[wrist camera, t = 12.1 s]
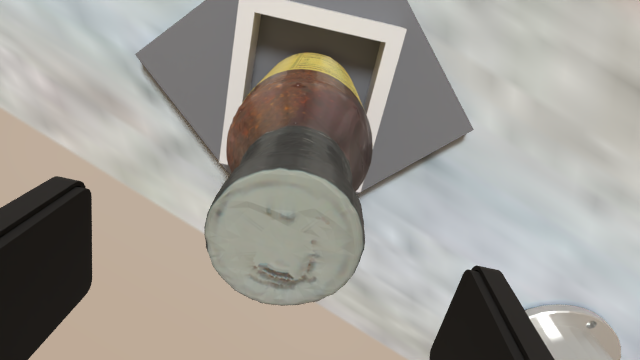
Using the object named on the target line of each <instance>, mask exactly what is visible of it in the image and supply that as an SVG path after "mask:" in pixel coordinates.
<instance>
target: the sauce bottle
mask: <svg viewBox="0 0 640 360" xmlns="http://www.w3.org/2000/svg"><path fill="white" fill-rule="evenodd" d="M372 152H373V143H372V132H371V128H370V123H369V120H368V118H367V115H366V112H365V110H364V108H363V106H362V104H361V101H360V99H359V96H358V93H357V91H356V89H355V87H354V84H353V82H352V80H351V78H350V76H349V75H348V73H347V72H346V70H345V69H344V68H343V67H342V66H341V65H340V64H339V63H338V62H336V61H335V60H333V59H332V58H331V57H329V56H325V55H322V54H318V53H309V52H304V53H299V54H295V55H292V56H290V57H287V58H285V59H284V60H282V61H281V62H279V63H278V64H277V65H276V66H275V67H274V68H273V69H272V70H271V71H270V72H269V73H268V74H267V75H266V76H265V77H264V78H263V79H262V80H261V81H260V82H259V83H258V84H257V85H256V87H255V88H254V89H253V90H252V91H251V92H250V93H249V94H248V95H247V97H246V98H245V100H244V101H243V103H242V105H241V106H240V107H239V108H238V110H237V112H236V115H235V116H234V117H233V120H232V123H231V125H230V128H229V131H228V135H227V146H226V155H227V162H228V165H229V166H230V169H231V175H230V177H229V178H228V180H227V181H226V182H225V183H224V184H223V186H222V187H221V189H220V191H219V192H218V194H217V195H216V197H215V199H214V201H213V203H212V205H211V207H210V209H209V211H208V214H207V218H206V223H205V239H206V248H207V251H208V253H209V256H210V258H211V262H212V265H213V267H214V268H215V269H216V271H217V272H218V274H219V275H220V276H221V277H222V278H223V279H224V280H225V281H226V282H227V283H228V284H229V285H230V286H231V287H232V288H233V289H234V290H236V291H237V292H239V293H241V294H243V295H244V296H247V297H248V298H251V299H252V300H256V301H258V302H260V303H265V304H273V305H299V304H304V303H309V302H315V301H319V300H321V299H323V298H325V297H326V296H329V295H332V294H334V293H335V292H336V291H338V290H339V289H340V288H341V287H343V286H344V285H345V284H346V283H347V281H348V280H349V279H350V278H351V276H352V275H353V274H354V272H355V270H356V268H357V266H358V264H359V262H360V258H361V255H362V252H363V250H364V245H365V234H364V220H363V214H362V208H361V203H360V201H359V199H358V196H357V194H356V191H357V190H358V189H359V187H360V186H361V184H362V183H363V181H364V179H365V177H366V175H367V173H368V170H369V167H370V164H371V159H372Z"/></svg>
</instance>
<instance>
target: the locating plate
mask: <svg viewBox="0 0 640 360" xmlns="http://www.w3.org/2000/svg"><path fill="white" fill-rule="evenodd" d="M304 52H309V53H318V54H322V55H325V56H329V57H331V58H332V59H333V60H335V61H336V62H338V63H339V64H340V65H341V66H342V67H343V68H344V69H345V70H346V72H347V73H348V75H349V76H350V78H351V80H352V82H353V84H354V87H355V89H356V91H357V93H358V96H359V99H360V101H361V104H362V106H363V108H364V110H365V112H366V115H367V118H368V120H369V123H370V128H371V132H372V143H373V152H372V159H371V164H370V167H369V170H368V173H367V175H366V177H365V179H364V181H363V183H362V184H361V186H360V187H359V189H358V190H357V191H356V194H358V193H360V192H362V191H364V190H365V189H367V188H369V187H371V186H373V185H375V184H376V183H378V182H380V181H382V180H384V179H385V178H387V177H389V176H391V175H393V174H394V173H396V172H398V171H400V170H402V169H403V168H405V167H407V166H409V165H411V164H413V163H414V162H416V161H418V160H420V159H422V158H423V157H425V156H427V155H429V154H431V153H432V152H434V151H436V150H438V149H440V148H441V147H443V146H445V145H447V144H449V143H450V142H452V141H454V140H456V139H458V138H460V137H461V136H463V135H465V134H467V133H469V132H470V131H472V130H473V128H472V126H471V124H470V122H469V120H468V118H467V116H466V114H465V112H464V110H463V108H462V106H461V104H460V102H459V100H458V98H457V97H456V95H455V93H454V91H453V89H452V87H451V85H450V83H449V81H448V79H447V77H446V75H445V73H444V71H443V69H442V67H441V65H440V64H439V62H438V60H437V58H436V56H435V54H434V52H433V50H432V48H431V46H430V44H429V42H428V40H427V38H426V36H425V34H424V32H423V31H422V29H421V27H420V25H419V23H418V21H417V19H416V17H415V15H414V13H413V11H412V9H411V7H410V5H409V3H408V1H407V0H205V1H204V2H203V3H201V4H200V5H199V6H197V7H196V8H195V9H194V10H192V11H191V12H190V13H188V14H187V15H186V16H184V17H183V18H182V19H180V20H179V21H178V22H177V23H175V24H174V25H173V26H171V27H170V28H169V29H167V30H166V31H165V32H164V33H162V34H161V35H160V36H158V37H157V38H156V39H154V40H153V41H152V42H151V43H149V44H148V45H147V46H145V47H144V48H143V49H141V50H140V51H139V52H138V53H136V54H135V55H136V56H137V58H138V59H139V60H140V61H141V63H142V64H143V65H144V66H145V68H146V69H147V70H148V72H149V73H150V74H151V75H152V77H153V78H154V79H155V80H156V82H157V83H158V84H159V85H160V87H161V88H162V89H163V91H164V92H165V93H166V94H167V96H168V97H169V98H170V99H171V101H172V102H173V103H174V105H175V106H176V107H177V108H178V110H179V111H180V112H181V113H182V115H183V116H184V117H185V119H186V120H187V121H188V122H189V124H190V125H191V126H192V127H193V129H194V130H195V131H196V133H197V134H198V135H199V136H200V138H201V139H202V140H203V141H204V143H205V144H206V145H207V147H208V148H209V149H210V150H211V152H212V153H213V154H214V155H215V157H216V158H217V159H218V161H219V163H221V164H222V166H223V167H224V168H225V169H226V171H227V172H228V173H229V175H231V169H230V166H229V165H228V162H227V155H226V146H227V135H228V131H229V128H230V125H231V123H232V120H233V117H234V116H235V115H236V112H237V110H238V108H239V107H240V106H241V105H242V103H243V101H244V100H245V98H246V97H247V95H248V94H249V93H250V92H251V91H252V90H253V89H254V88H255V87H256V85H257V84H258V83H259V82H260V81H261V80H262V79H263V78H264V77H265V76H266V75H267V74H268V73H269V72H270V71H271V70H272V69H273V68H274V67H275V66H276V65H277V64H278V63H279V62H281V61H282V60H284V59H285V58H287V57H290V56H292V55H295V54H299V53H304Z"/></svg>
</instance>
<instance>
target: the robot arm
mask: <svg viewBox="0 0 640 360" xmlns="http://www.w3.org/2000/svg"><path fill="white" fill-rule="evenodd" d="M91 220H92V215H91V192H90V190H89V189H86V188H85V185H84V183H83V182H81V181H77V180H72V179H67V178H63V177H53V178H51V179H49V180H48V181H46V182H44V183H42V184H41V185H39V186H37V187H36V188H34V189H32V190H30V191H29V192H27V193H25V194H24V195H22V196H20V197H19V198H17V199H16V200H13V201H12V202H10V203H8V204H7V205H5V206H3V207H1V208H0V360H28V359H29V358H30V356H31V355H32V354H33V353H34V352H35V351H36V350H37V349H38V348H39V347H40V345H41V344H42V343H43V342H44V341H45V340H46V339H47V338H48V336H49V335H50V334H51V333H52V332H53V331H54V330H55V329H56V327H57V326H58V325H59V324H60V323H61V322H62V321H63V319H64V318H65V317H66V316H67V315H68V314H69V313H70V312H71V311H72V309H73V308H74V307H75V306H76V305H77V304H78V303H79V302H80V301H81V300H82V298H83V297H84V296H85V295H86V294H87V292H88V290H89V289H90V286H91V282H92V221H91ZM620 358H621V346H620V342H619V339H618V337H617V335H616V334H615V332H614V331H613V329H612V328H611V327H610V326H609V325H608V324H607V322H606V321H605V320H604V319H603V318H601V317H600V316H598V315H597V314H596V313H594V312H592V311H589V310H587V309H585V308H581V307H577V306H572V305H559V304H556V305H545V306H539V307H535V308H531V309H527V310H524V309H523V307H522V305H521V304H520V302H519V300H518V299H517V297H516V295H515V294H514V292H513V290H512V289H511V287H510V286H509V284H508V282H507V281H506V279H505V277H504V276H503V274H502V273H501V272H500V271H499V270H495V269H490V268H486V267H481V266H474V267H473V268H472V270H466V271H465V272H464V274H463V276H462V278H461V281H460V283H459V285H458V287H457V290H456V292H455V294H454V297H453V299H452V301H451V304H450V306H449V308H448V311H447V313H446V315H445V318H444V320H443V322H442V325H441V327H440V329H439V332H438V334H437V336H436V339H435V341H434V343H433V345H432V348H431V351H430V360H620Z"/></svg>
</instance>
